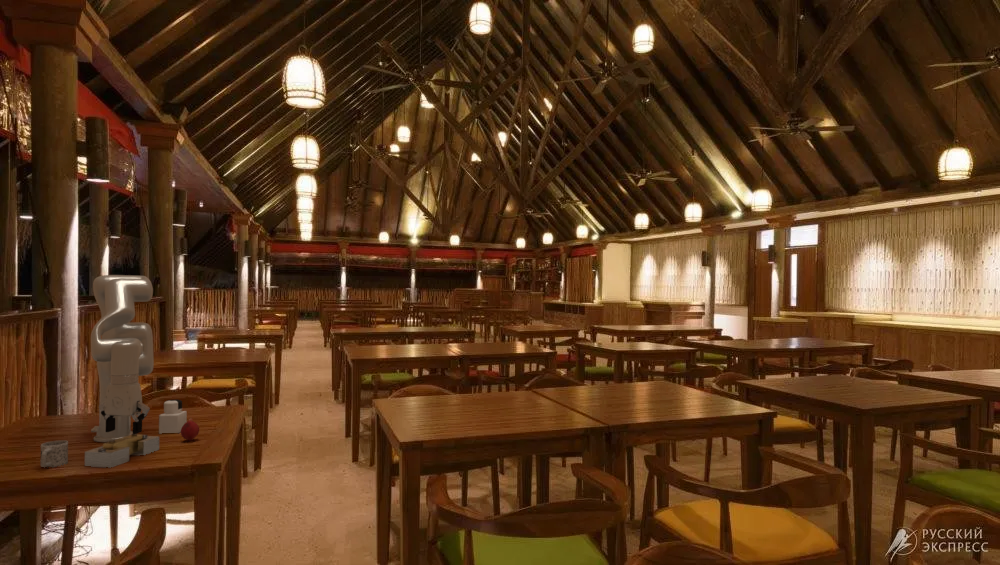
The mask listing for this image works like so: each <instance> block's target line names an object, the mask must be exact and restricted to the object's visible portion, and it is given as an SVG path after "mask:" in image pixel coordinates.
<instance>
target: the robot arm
mask: <svg viewBox="0 0 1000 565" xmlns="http://www.w3.org/2000/svg"><path fill="white" fill-rule="evenodd" d="M92 291H93V295H94V298H95V299H94V300H96V303H97V305H98V308H99V311H100V315H101V317H100V319H99V320H98V321H97V322H96V323H95V325H94V326H93V327H92V330H91V334H90V353H91V358H92V359H93V361H95V362H96V368H97V369H96V370H97V375H98V382H99V385H98V386H99V405H98V409H99V414H98V415H99V420H98V421H99V423H98V425H94V427H93V428H91V430H90V433H96V435H95V436H94V437H93V441H94V442H98V443H107V442H109V441H110V440H116V439H120V438H123V437H126V436H129V435H131V434H140V433H142V432H143V421H144V420H145V418H146V417H147V416H148V413H149V412H150V410H151V409H150V407H149V405H146V404H145V403H143V396H142V389H141V388H142V387H141V384H140V382H139V376H141V377H143V376H149V375H150V374H152V373H153V370H154V363H155V362H154V360H155V358H154V338H153V337H154V335H153V330H152V326H151V325H150V324H149V323H148V322H147V323H146V322H143V321H140V322H138V321H137V322H132V320H134V319H135V317H136V310H135V303H136V302H142V303H143V302H146V303H147V302H150V301H151V300H152V298H153V294H154V288H153V284H152V281H151V280H150V278H149V277H148V276H145V275H137V274H136V275H131V274H128V275H127V274H126V275H125V274H105V275H101V276H100V275H99V276H97V277H96V278H94V280H93V283H92ZM131 418H132V419H133V421H132V430H131Z"/></svg>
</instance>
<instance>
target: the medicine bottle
mask: <svg viewBox="0 0 1000 565" xmlns="http://www.w3.org/2000/svg"><path fill="white" fill-rule="evenodd" d="M187 416H188V413H187V410H183V401H182V400H181V399H169V400H168V399H167V400H166V401H164V403H163V413H160V414H158V434H159V435H162V433H178V434H181V428H182V426H183V425H184V424H185V423H186V422H187V421H188V419H187V418H188V417H187Z"/></svg>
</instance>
